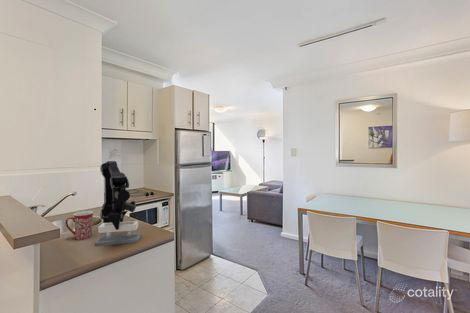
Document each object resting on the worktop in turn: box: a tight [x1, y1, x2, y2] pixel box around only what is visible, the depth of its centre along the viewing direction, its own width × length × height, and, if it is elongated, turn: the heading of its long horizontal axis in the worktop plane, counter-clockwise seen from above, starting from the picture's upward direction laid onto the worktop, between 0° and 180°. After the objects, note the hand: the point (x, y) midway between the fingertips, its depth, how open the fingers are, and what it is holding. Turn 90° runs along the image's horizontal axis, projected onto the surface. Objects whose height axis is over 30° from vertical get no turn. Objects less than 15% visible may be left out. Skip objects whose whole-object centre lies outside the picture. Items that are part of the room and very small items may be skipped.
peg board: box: [94, 230, 142, 247], centre depth 120 cm, size 10×20×6 cm, turn 104°
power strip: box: [97, 220, 139, 234], centre depth 120 cm, size 6×18×3 cm, turn 104°
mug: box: [65, 210, 94, 241], centre depth 123 cm, size 13×9×14 cm
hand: (119, 227), depth 120 cm, fingers closed on power strip, 6 cm apart
